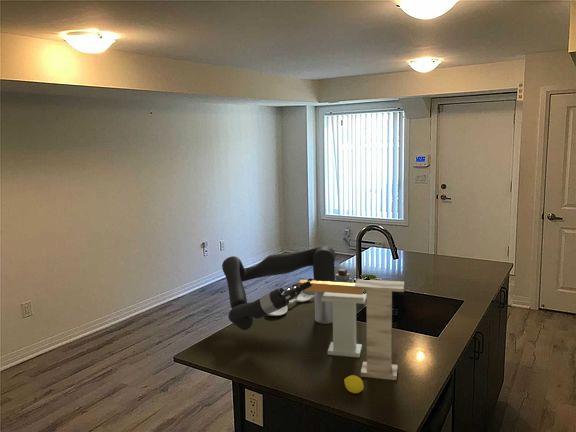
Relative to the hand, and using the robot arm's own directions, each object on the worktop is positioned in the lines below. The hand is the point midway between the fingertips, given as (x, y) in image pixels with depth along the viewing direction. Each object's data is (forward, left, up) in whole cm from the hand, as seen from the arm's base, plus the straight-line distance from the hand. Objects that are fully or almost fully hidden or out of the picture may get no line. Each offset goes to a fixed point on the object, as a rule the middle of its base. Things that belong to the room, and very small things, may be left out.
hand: (311, 281), depth 181 cm
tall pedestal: (+14, +27, -27) cm, 40 cm away
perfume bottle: (-48, +5, -27) cm, 55 cm away
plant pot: (-69, +15, -27) cm, 76 cm away
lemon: (+28, +20, -27) cm, 44 cm away
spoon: (-41, -20, -27) cm, 54 cm away
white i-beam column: (0, +13, -27) cm, 30 cm away
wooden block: (0, +8, -3) cm, 8 cm away
